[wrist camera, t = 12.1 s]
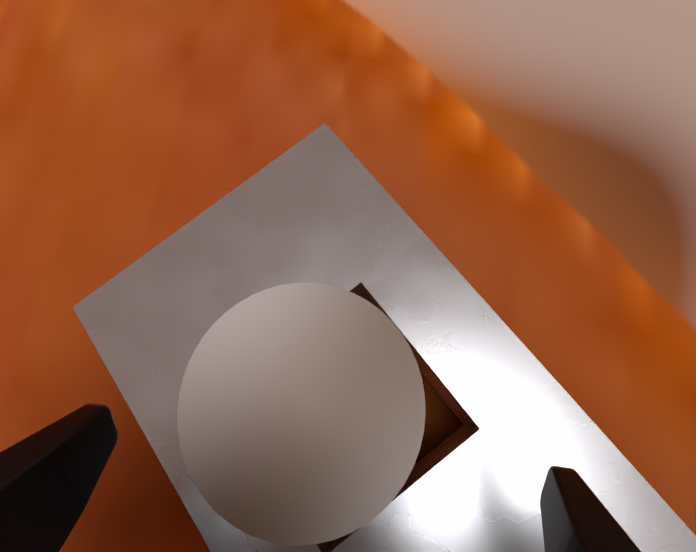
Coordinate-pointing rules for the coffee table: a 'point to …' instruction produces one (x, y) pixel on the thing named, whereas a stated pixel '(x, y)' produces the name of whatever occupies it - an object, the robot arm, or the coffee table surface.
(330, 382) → the pin
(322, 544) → the socket block
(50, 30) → the coffee table surface
